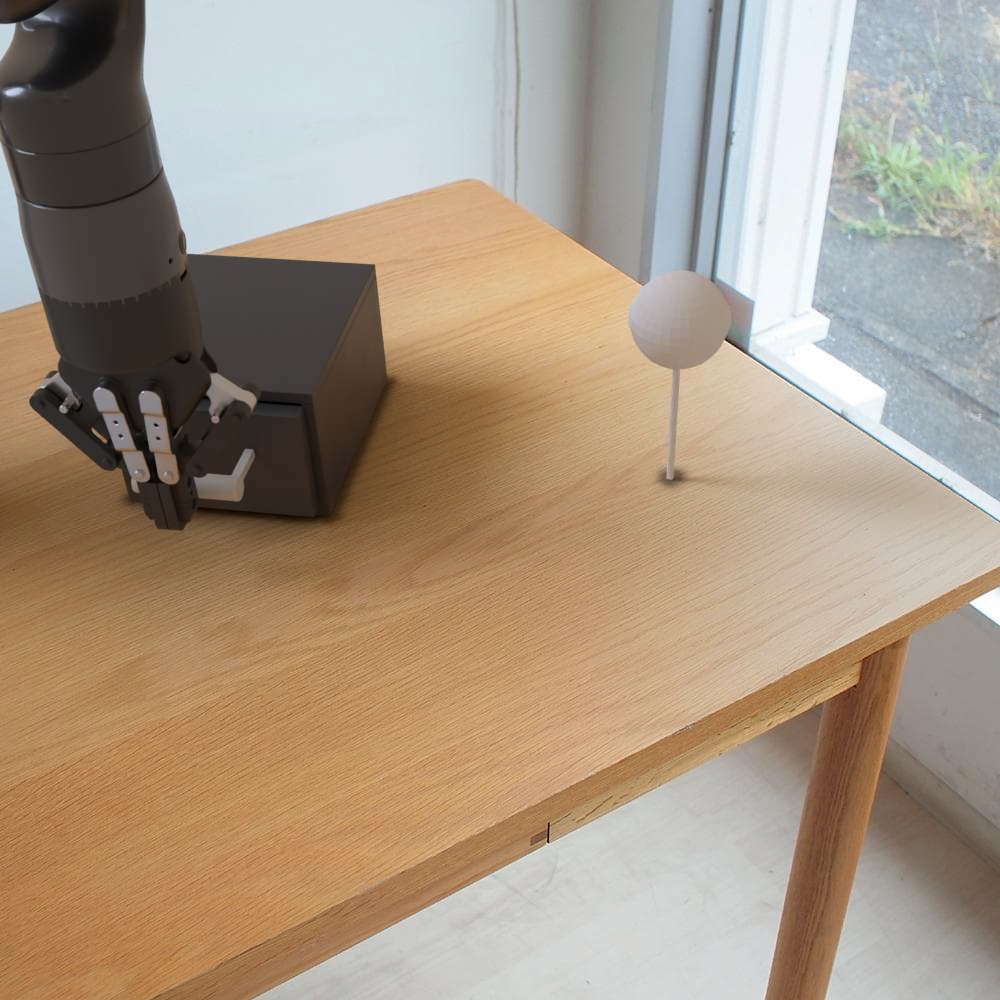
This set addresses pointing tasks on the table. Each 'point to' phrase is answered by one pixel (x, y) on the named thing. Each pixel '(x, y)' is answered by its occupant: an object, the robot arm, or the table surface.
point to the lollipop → (679, 329)
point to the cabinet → (299, 346)
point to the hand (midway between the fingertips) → (176, 520)
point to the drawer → (257, 464)
